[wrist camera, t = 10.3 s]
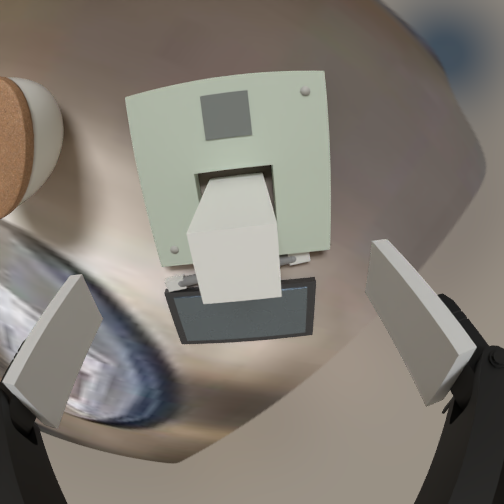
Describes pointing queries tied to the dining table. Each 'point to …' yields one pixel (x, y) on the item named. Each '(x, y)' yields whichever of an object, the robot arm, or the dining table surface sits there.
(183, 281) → the grey pen
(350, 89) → the dining table surface
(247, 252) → the block
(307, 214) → the outlet plate
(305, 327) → the phone
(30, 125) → the lidded jar
